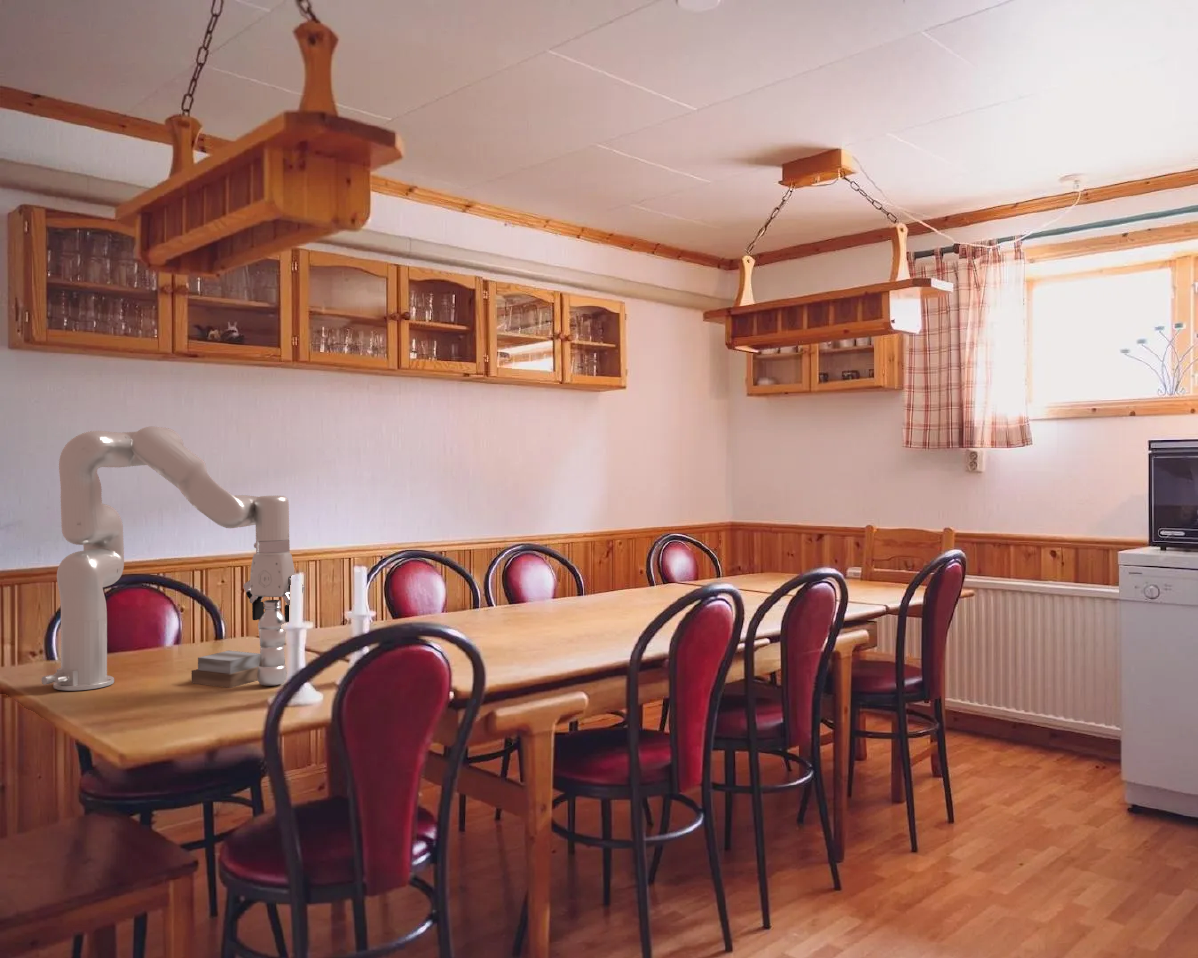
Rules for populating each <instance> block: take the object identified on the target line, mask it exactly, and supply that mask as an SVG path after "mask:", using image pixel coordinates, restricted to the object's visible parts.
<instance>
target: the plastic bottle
mask: <svg viewBox="0 0 1198 958" xmlns="http://www.w3.org/2000/svg"><path fill="white" fill-rule="evenodd" d="M263 603H264V613H263V615H262V616H261V618H260V619H259V620H258V622H257V628H258V630H257V631H258V636H259V647H260V652H259V654H260V661H259V667H258V672H257V678H258V680H257V682H258V684H259V685H261V686H267V687H275V686H278V685H281V684H284V683H285V682H286V680H287V674H288V670H287V666H286V657H285V640H286V633H287V631H286V632H285V631H284V630H283V629H281V625H282V624H284V623H287V624H288V622H285V614H283V612H282V611H281V609H282V605H281V603H282V602H281V600H280V599H268V600H267V599H266V600H264V601H263Z"/></svg>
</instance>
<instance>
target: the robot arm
mask: <svg viewBox="0 0 1198 958" xmlns="http://www.w3.org/2000/svg"><path fill="white" fill-rule="evenodd" d="M62 448H63V449H62V450H61V453H60V454H59V455H60V456H59V460H58V461H59V462H58V471H59V482H60V484H59V485H60V520H61V522H60V523H61V532H62V535H63V538H64V539H65V540H66V541H67V543H69V544H72V545H76V546H77V545H78V546H83V550H79V551H74V552H73V553H70V554H68V555H66V557H64V558H63V559H62V560H61V561H60V563H59V565H58V567H57V571H56V582H57V587H58V593H59V599H60V600H59V601H60V668H56V671H55V673H53V674H49V675H48V674H47V675H44V676H41V679H40V680H41V683H42V684H43V685H44V686H45V685H50V684H53V685H52V686H53V689H54V690H57V691H67V692H68V691H70V692H71V691H88V690H95V689H100V688H106V687H108V686H111V685H113V684H114V683H115V677H113V676H111V675H108V611H107V609H108V608H107V601H106V596H105V593H104V588H106V587H109V586H111V585H113V584H115V583H116V582H118V581H119V580H120V578H121V577H122V575H123V572H124V568H125V550H124V549H125V547H124V546H125V545H124V526H123V521H122V517H121V515H120V513H118V512H119V511H117V510H116V509H115V508H114V507H112V506H111V505H108V504H105V503H103V499H102V492H103V491H102V490H103V489H102V483H101V480H100V477H99V474H98V470H99V469H100V468H127V467H128V468H129V467H138V466H148V467H149V468H151V469H152V470H154V471H155V472H156V473H157V474H159V475H160V476H161V477H163V478H164V479H165V480H166V481H168V482H169V483H171V484H172V485H173V486H174V487H176V488H177V489H178V490H179V491H180V493H181V494H182V495H183V496H184V497H185V498H186V500H187V502H189V503H190V504H191V505H192V506H193V508H195V509H196V510H197V511H199V512H200V513H201V514H203V515H204V516H205V517H207V518H208V519H209V520H211V521H212V522H214V523H215V524H217V525H218V526H220V527H223V528H226V529H236V528H237V529H238V528H244V527H250V526H255V542H254V544H253V548H254V549H255V553H254V554H253V555H252V560H251V567H250V575H249V577H250V578H249V580H248V581H246V582H245V583H243V589H244V591H245V593H246V597H247V598H248V600H249V603H250V604H251V609H252V612H251V616H252V617H251V619H252V621H259V619H260V618H261V616H262V615H263V613H264V612H265V609H264V601H262V600H264V597H265V598H266V597H267V598H281V597H282V598H283V600H284V601H285V603H286V604H285V605H284V616H285V622H287V623H290V622H289V605H290V585H291V576H292V575H295V576H296V574H295V567H294V566H295V565H294V559H293V555H292V553H290V551H291V550H290V507H289V506H290V504H289V499H288V498H287V497H286V496H285V495H260V496H254V495H248V494H247V495H246V494H244V495H243V494H241V495H240V494H239V495H238V494H236V495H234V494H232V493H230V492H229V491H228V490H227V489H225V488H224V487H222V486H221V485H220V484H219V483H217V482H216V481H215V480H214V479H213V478H212V477H211V476H210V474H209V473H208V470H207V465H206V462H205V461H204V460H203V459H202V458H200V456H198V455H196V454H195V453H194V452H193V451H191V450H190V449H188V448H187V447H186V446H185V445H184V442H183V438H182V437H181V435H180V434H179V433H178V432H177V431H175V430H173V429H171V428H168V427H163V426H145V427H142V428H140V429H139V430H138V431H127V432H124V431H123V432H116V431H106V430H93V431H92V430H91V431H86V432H83V433H81V434H77V435H76V436H75V437H73V438H71V439H70V440H69V441H68V442H67V443H66V444H65V445H64V447H62ZM305 587H306V586H305V585H304V584H302V594H303V593H304V590H305Z"/></svg>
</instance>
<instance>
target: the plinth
mask: <svg viewBox="0 0 1198 958" xmlns="http://www.w3.org/2000/svg"><path fill="white" fill-rule="evenodd" d="M259 661H260V652H259V653H258V652H257V653H256V652H249V651H248V652H246V651H238V650H237V651H236V650H226V651H221V652H217V653H212V654H208V655H204V656H199V657H197V669H192V670H191V684H195V685H203V686H212V687H219V686H223V687H222V688H227V687H228V688H229V689H231V688H234V687H239V686H241V685H246V684H250V683H253V682H256V681H257V682H258V678H257V672H258V667H259ZM228 688H227V689H228Z"/></svg>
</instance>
